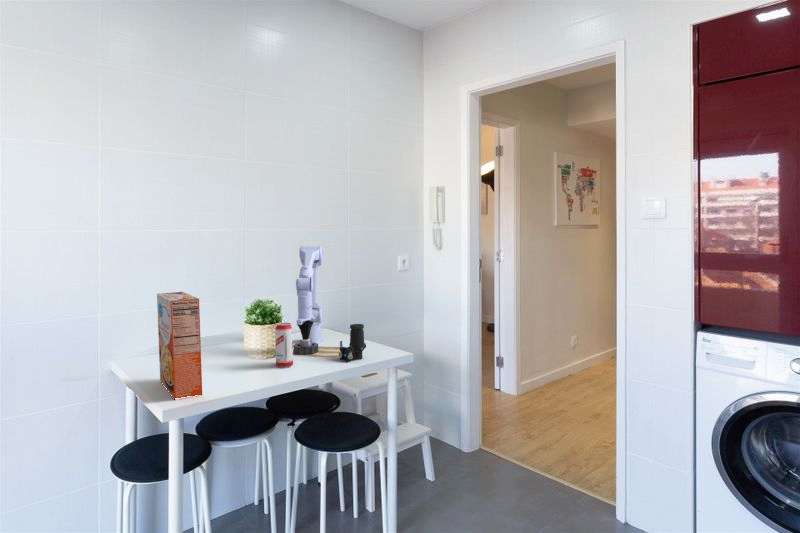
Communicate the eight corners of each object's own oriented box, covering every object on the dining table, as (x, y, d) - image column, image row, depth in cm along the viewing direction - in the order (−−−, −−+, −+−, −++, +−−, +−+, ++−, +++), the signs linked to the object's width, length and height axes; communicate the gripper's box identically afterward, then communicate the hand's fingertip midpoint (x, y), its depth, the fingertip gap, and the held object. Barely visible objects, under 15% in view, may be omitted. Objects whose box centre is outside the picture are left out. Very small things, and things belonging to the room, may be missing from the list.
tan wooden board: (301, 347, 219) (301, 345, 219) (354, 348, 215) (354, 347, 215) (285, 357, 202) (285, 355, 202) (343, 359, 198) (343, 357, 198)
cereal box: (160, 382, 169) (156, 293, 167) (185, 377, 173) (182, 291, 171) (174, 400, 150) (170, 301, 148) (202, 395, 155) (199, 298, 153)
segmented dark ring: (298, 348, 213) (298, 341, 213) (321, 349, 212) (321, 342, 211) (289, 354, 203) (289, 347, 203) (313, 355, 202) (313, 348, 202)
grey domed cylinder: (302, 350, 210) (302, 338, 210) (313, 350, 210) (313, 338, 209) (298, 353, 205) (298, 340, 205) (310, 353, 205) (309, 341, 204)
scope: (337, 325, 195) (359, 322, 201) (338, 360, 196) (359, 356, 202) (349, 328, 189) (371, 325, 195) (349, 364, 190) (371, 360, 196)
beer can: (287, 363, 192) (286, 321, 191) (296, 366, 188) (295, 323, 187) (272, 366, 188) (271, 323, 187) (281, 369, 184) (280, 326, 183)
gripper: (308, 309, 198) (308, 343, 199) (320, 304, 213) (320, 335, 214) (291, 309, 200) (292, 342, 201) (304, 303, 214) (304, 335, 215)
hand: (305, 339), depth 207 cm, fingers closed
